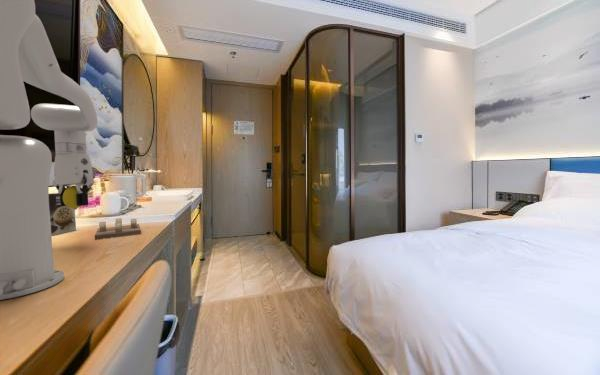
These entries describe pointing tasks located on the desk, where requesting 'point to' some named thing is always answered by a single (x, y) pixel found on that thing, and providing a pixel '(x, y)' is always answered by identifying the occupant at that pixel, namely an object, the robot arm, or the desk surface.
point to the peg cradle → (117, 229)
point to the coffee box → (60, 216)
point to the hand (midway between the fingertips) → (74, 205)
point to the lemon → (70, 197)
